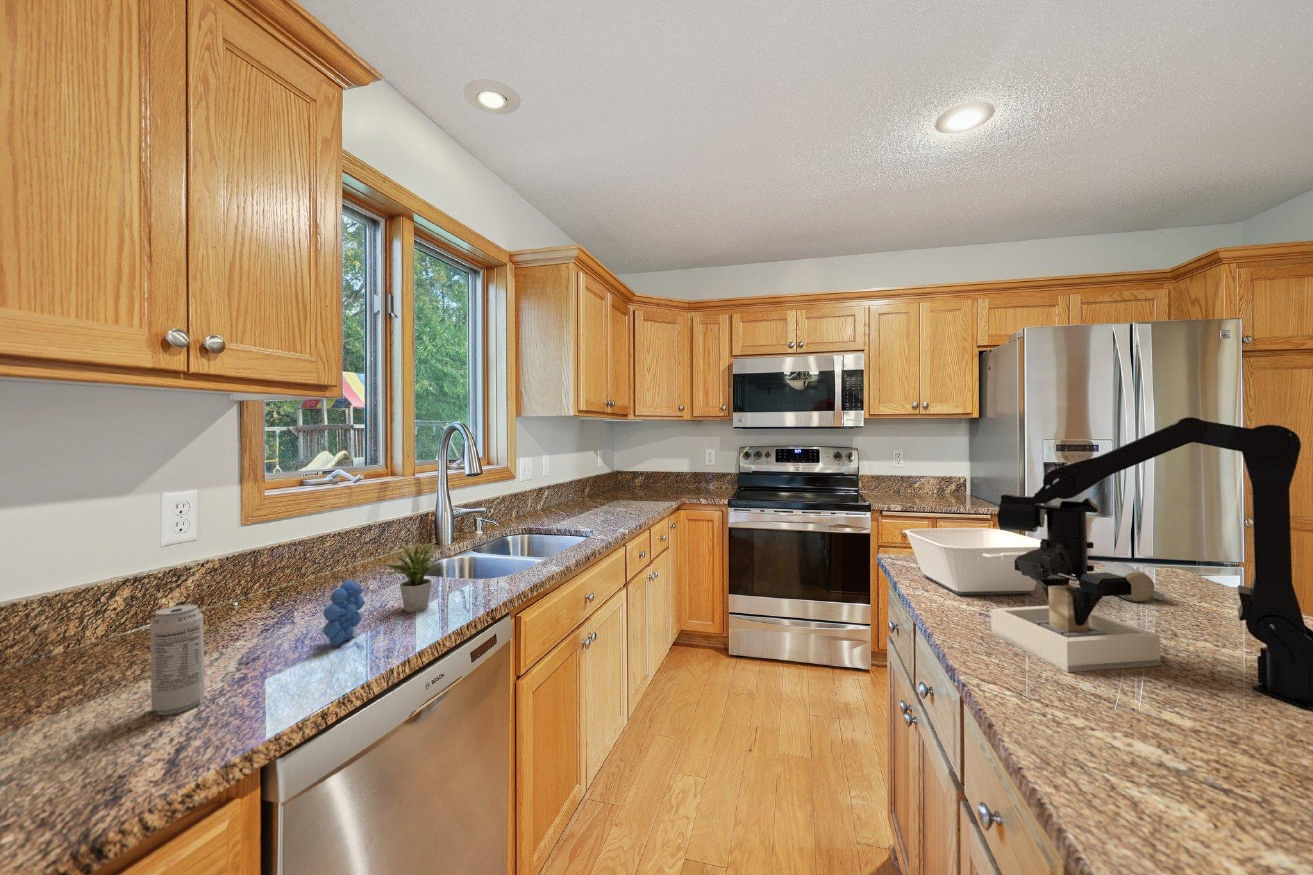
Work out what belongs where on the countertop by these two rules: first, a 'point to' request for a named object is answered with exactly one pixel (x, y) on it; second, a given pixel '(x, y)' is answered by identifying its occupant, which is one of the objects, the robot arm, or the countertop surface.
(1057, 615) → the wooden block
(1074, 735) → the countertop surface
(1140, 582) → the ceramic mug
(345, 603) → the grapes
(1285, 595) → the robot arm
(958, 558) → the tub
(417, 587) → the house plant
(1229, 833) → the countertop surface
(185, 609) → the energy drink can
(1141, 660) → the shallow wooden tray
